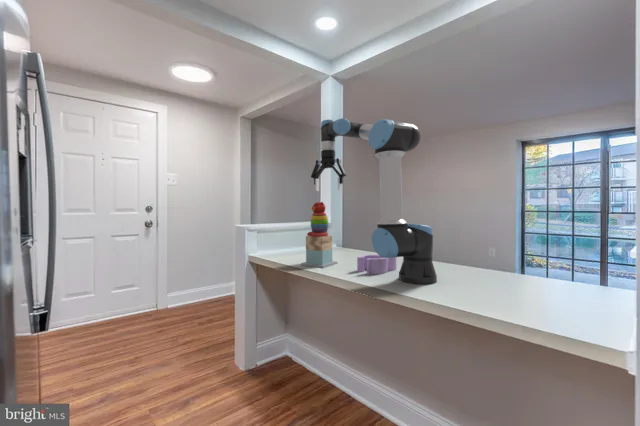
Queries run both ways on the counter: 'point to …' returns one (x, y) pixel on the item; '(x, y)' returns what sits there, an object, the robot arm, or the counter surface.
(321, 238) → the oak brick
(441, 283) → the counter surface
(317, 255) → the tower base
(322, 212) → the stacking bear
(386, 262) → the clip
